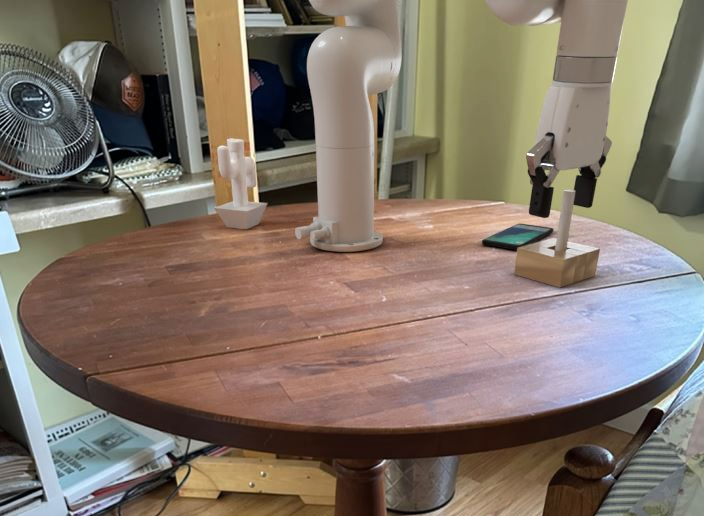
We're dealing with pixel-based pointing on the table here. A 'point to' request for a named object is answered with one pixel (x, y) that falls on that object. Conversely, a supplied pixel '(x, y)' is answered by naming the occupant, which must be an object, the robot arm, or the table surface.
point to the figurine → (238, 186)
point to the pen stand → (556, 262)
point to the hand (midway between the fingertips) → (560, 210)
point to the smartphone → (517, 236)
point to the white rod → (565, 220)
